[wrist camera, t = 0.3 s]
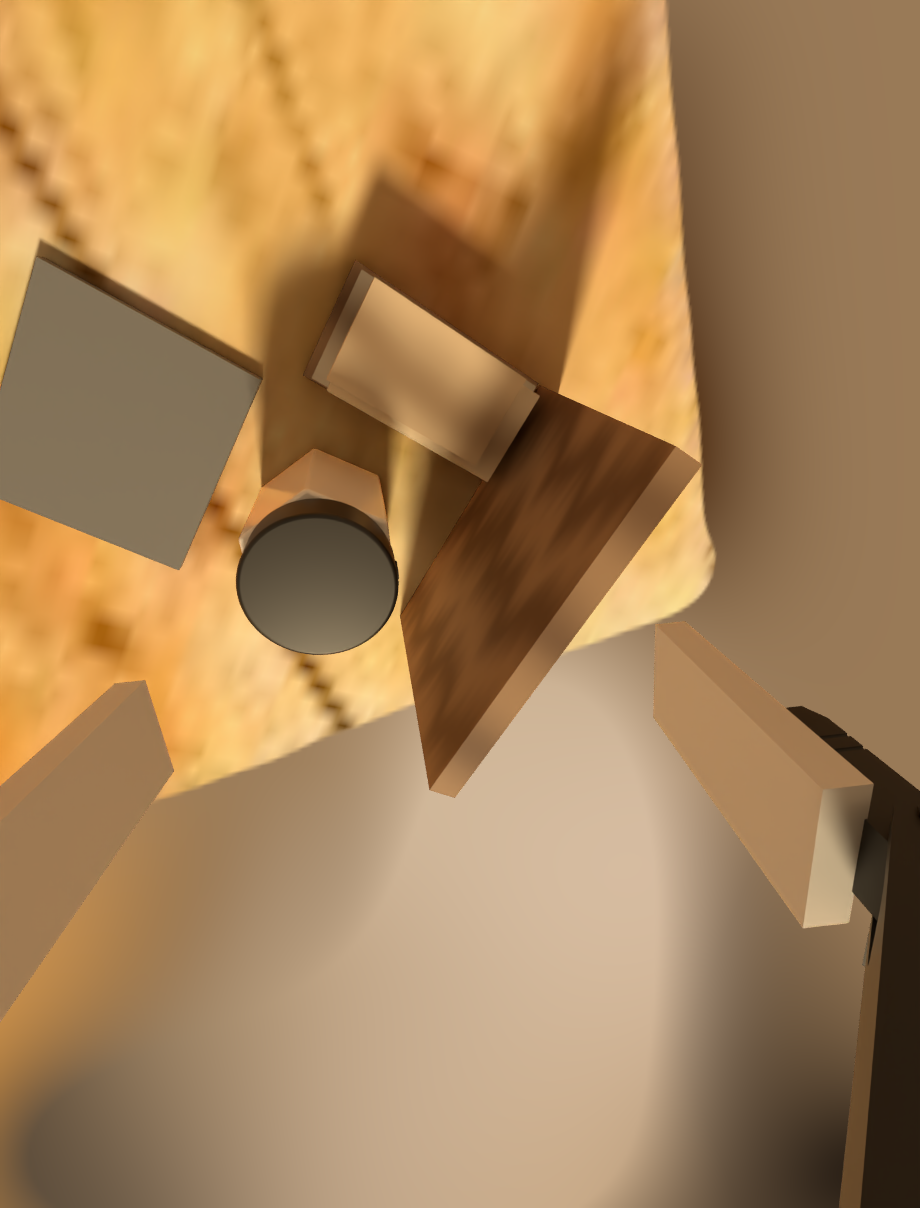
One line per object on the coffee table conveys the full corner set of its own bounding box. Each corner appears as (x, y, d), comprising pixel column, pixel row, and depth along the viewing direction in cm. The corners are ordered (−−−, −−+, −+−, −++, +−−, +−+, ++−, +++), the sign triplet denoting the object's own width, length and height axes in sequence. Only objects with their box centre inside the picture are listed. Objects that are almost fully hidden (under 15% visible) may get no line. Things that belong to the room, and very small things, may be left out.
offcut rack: (355, 260, 33) (363, 226, 17) (557, 397, 38) (702, 464, 23) (227, 542, 39) (147, 703, 23) (416, 623, 45) (454, 797, 29)
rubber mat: (43, 257, 30) (36, 256, 30) (262, 378, 35) (261, 380, 34) (-19, 484, 35) (-27, 488, 34) (181, 565, 39) (178, 570, 39)
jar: (315, 590, 42) (304, 686, 32) (234, 505, 38) (191, 582, 28) (413, 520, 41) (436, 597, 30) (340, 425, 37) (337, 475, 26)
